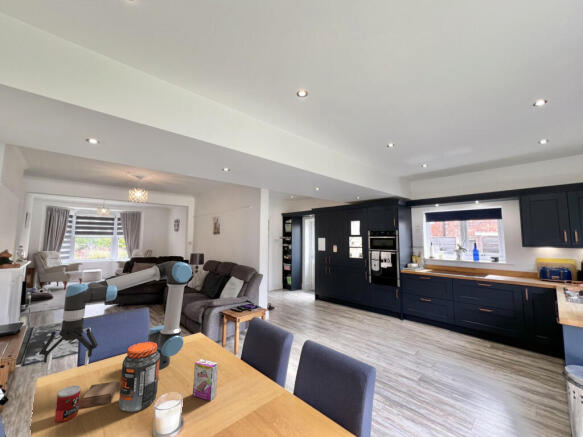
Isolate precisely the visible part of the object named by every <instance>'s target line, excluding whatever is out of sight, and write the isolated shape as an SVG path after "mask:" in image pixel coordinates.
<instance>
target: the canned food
mask: <svg viewBox="0 0 583 437" xmlns="http://www.w3.org/2000/svg"><path fill="white" fill-rule="evenodd" d="M81 389H82V388H81V386H80V385H70V386H67V387H64V388H62V389H60V390H59V391H58V392H57V397H56V405H55V413H54V420H55V422H56V423H58V424H60V423H61V422H62V423H67V422H68V421H71V420H73V419H74V418H75V417H77V415H78V413H79V408H80V401H81V400H80V399H81ZM62 423H61V424H62Z"/></svg>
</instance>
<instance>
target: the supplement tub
mask: <svg viewBox="0 0 583 437" xmlns="http://www.w3.org/2000/svg"><path fill="white" fill-rule="evenodd" d="M159 361H160V355H159V352H158V351H157V344H156V343H154V342H148V341H145V342H138V343H136V344H133V345H131V346H129V347H128V348H127V353H126V356H125V357H124V359H123V361H122V364H121V378H120V385H119V388H120V390H119V398H118V407H119V410H121V411H124V412H130V413H131V412H138V411H142V410H144V409H145V408H148V407H149V406H150V405H152V404H153V403H154V402H155V401H156V397H157V396H158V395H157V393H158V384H159V372H160V370H159Z"/></svg>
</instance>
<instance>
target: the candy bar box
mask: <svg viewBox="0 0 583 437" xmlns="http://www.w3.org/2000/svg"><path fill="white" fill-rule="evenodd" d="M218 368H219V362H215V361H211V360H206V359H203V358H200V359H198V360H197V361H195V362H194V368H193V369H194V372H193V384H192V386H193V388H192V397H196V398H198V399H202V400H205V401H208V400H210V401H209V402H211V401H213V400H214V399H215V398H216V397H217V389H218V388H217V386H218ZM215 396H216V397H215ZM214 397H215V398H214Z"/></svg>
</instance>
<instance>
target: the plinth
mask: <svg viewBox="0 0 583 437" xmlns="http://www.w3.org/2000/svg"><path fill="white" fill-rule="evenodd" d="M119 383H120V382H119V381H118V380H115V381H110V382H103V383H102V382H101V383H96V384H91V385H90V387H89V389H88V390H86V393H85V394H84V396H83V397H82V398H81V400H80V403H79V408H80V409H81V408H87V407H88V408H89V407H93V406H99V405H104V404H105V405H106V404H109V403H112V402H113V400H114V398H115V396H116V394H117V392H118V390H119V388H120V384H119Z"/></svg>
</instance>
